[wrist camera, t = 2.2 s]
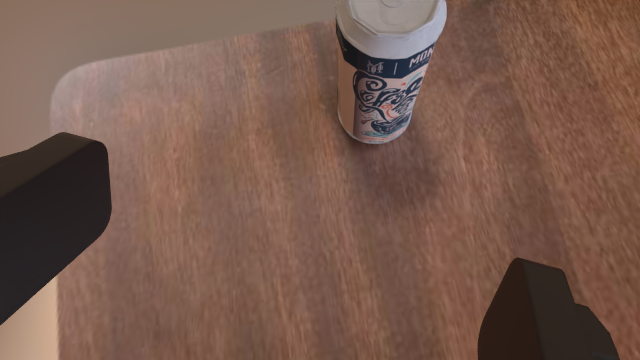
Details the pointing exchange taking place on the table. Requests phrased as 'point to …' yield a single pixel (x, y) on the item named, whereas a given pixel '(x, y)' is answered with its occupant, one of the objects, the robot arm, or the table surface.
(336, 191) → the table surface
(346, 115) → the beer can
